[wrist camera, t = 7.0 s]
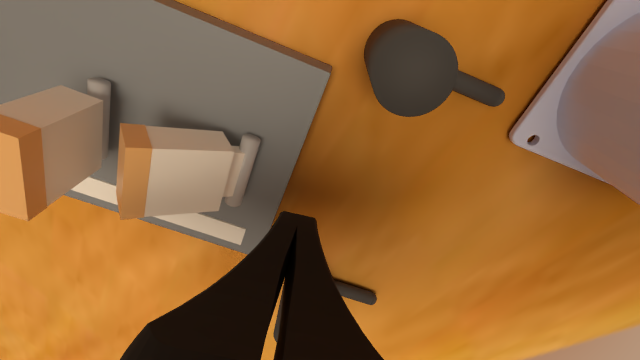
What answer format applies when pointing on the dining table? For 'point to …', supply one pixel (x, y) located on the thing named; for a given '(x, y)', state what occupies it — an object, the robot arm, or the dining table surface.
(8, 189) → the orange and brown block
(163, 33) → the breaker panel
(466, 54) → the dining table surface
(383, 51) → the dark cylinders with handles
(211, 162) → the tan rectangular block
